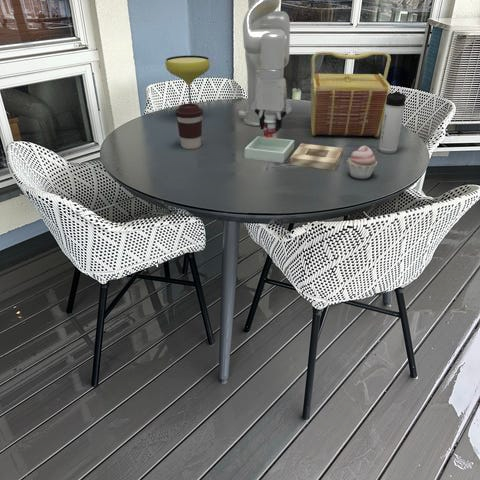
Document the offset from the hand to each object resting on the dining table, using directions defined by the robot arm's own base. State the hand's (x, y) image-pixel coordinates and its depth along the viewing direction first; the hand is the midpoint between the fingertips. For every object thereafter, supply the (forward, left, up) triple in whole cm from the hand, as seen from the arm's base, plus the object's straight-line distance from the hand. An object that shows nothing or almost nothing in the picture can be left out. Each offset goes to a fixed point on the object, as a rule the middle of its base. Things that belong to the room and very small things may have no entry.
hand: (270, 128), depth 156 cm
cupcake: (+33, -9, -9) cm, 35 cm away
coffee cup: (-30, -2, -9) cm, 32 cm away
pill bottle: (0, 0, -3) cm, 3 cm away
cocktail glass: (-45, +29, -9) cm, 54 cm away
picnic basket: (+20, +35, -9) cm, 41 cm away
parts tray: (0, 0, -9) cm, 9 cm away
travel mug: (+39, +17, -9) cm, 44 cm away
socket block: (+17, 0, -9) cm, 19 cm away
